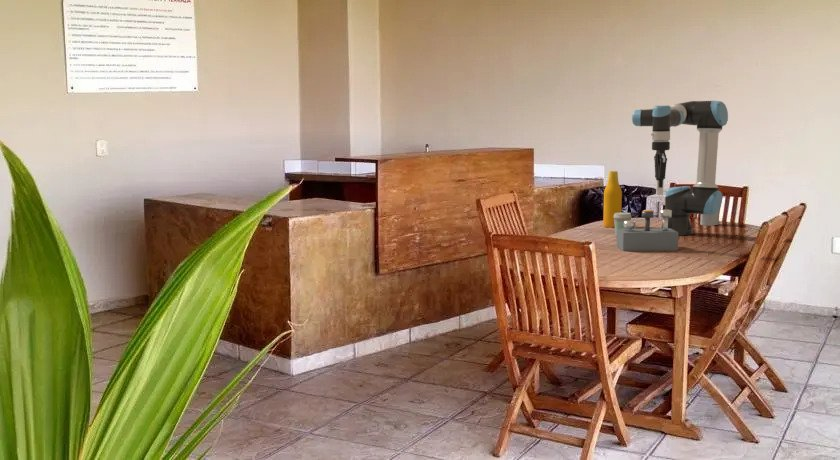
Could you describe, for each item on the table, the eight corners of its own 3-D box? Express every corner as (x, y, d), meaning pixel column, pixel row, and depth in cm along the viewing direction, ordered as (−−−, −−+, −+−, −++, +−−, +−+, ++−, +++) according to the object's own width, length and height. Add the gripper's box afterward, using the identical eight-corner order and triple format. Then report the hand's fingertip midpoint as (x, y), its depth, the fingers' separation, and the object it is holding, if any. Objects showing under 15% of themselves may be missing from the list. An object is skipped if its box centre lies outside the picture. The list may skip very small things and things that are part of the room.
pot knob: (651, 235, 389) (652, 209, 387) (654, 236, 384) (655, 211, 383) (640, 235, 389) (640, 209, 387) (643, 237, 384) (643, 211, 383)
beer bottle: (599, 226, 458) (600, 171, 454) (614, 224, 462) (615, 170, 458) (610, 228, 450) (611, 172, 446) (624, 227, 453) (626, 171, 449)
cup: (720, 225, 454) (721, 203, 453) (703, 226, 454) (704, 203, 453) (715, 223, 463) (716, 201, 462) (698, 223, 463) (698, 201, 462)
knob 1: (633, 245, 390) (633, 220, 388) (635, 247, 385) (636, 222, 383) (622, 246, 390) (622, 220, 388) (624, 247, 385) (625, 222, 383)
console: (669, 245, 393) (670, 228, 392) (677, 250, 382) (678, 232, 380) (616, 246, 393) (617, 228, 392) (623, 250, 381) (623, 232, 380)
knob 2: (669, 235, 389) (669, 209, 388) (672, 236, 384) (673, 210, 383) (658, 235, 389) (658, 209, 387) (661, 236, 384) (661, 211, 383)
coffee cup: (631, 239, 412) (632, 214, 410) (613, 239, 414) (613, 214, 412) (630, 236, 420) (631, 212, 419) (612, 236, 422) (613, 212, 420)
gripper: (648, 140, 387) (647, 193, 391) (656, 142, 374) (654, 196, 378) (665, 140, 387) (664, 192, 391) (673, 141, 374) (672, 196, 378)
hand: (659, 194), depth 384 cm, fingers closed
